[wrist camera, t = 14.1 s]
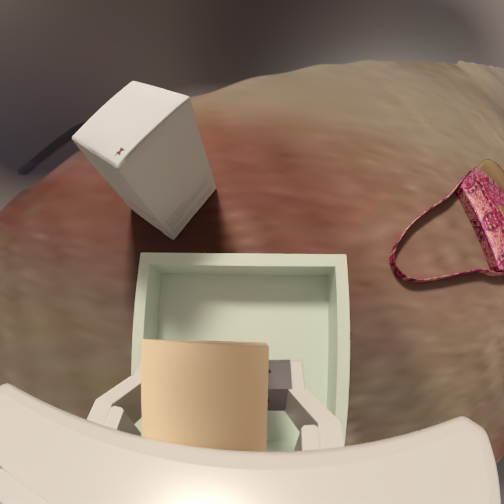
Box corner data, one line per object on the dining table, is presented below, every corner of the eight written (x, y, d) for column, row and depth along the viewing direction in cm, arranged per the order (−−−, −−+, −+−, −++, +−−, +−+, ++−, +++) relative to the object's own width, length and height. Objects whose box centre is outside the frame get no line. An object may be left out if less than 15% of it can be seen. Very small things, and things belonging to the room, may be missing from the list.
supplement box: (219, 188, 28) (194, 95, 16) (173, 242, 26) (114, 170, 14) (171, 160, 30) (133, 77, 18) (128, 207, 28) (67, 137, 16)
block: (210, 392, 18) (143, 450, 7) (211, 340, 19) (141, 339, 8) (265, 394, 18) (265, 465, 6) (266, 342, 19) (269, 347, 8)
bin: (151, 433, 20) (134, 446, 16) (157, 265, 26) (140, 252, 22) (331, 442, 19) (342, 458, 16) (334, 267, 25) (346, 254, 21)
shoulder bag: (486, 165, 29) (356, 204, 28) (495, 156, 26) (364, 190, 25) (529, 259, 24) (414, 348, 23) (541, 253, 21) (429, 348, 20)
